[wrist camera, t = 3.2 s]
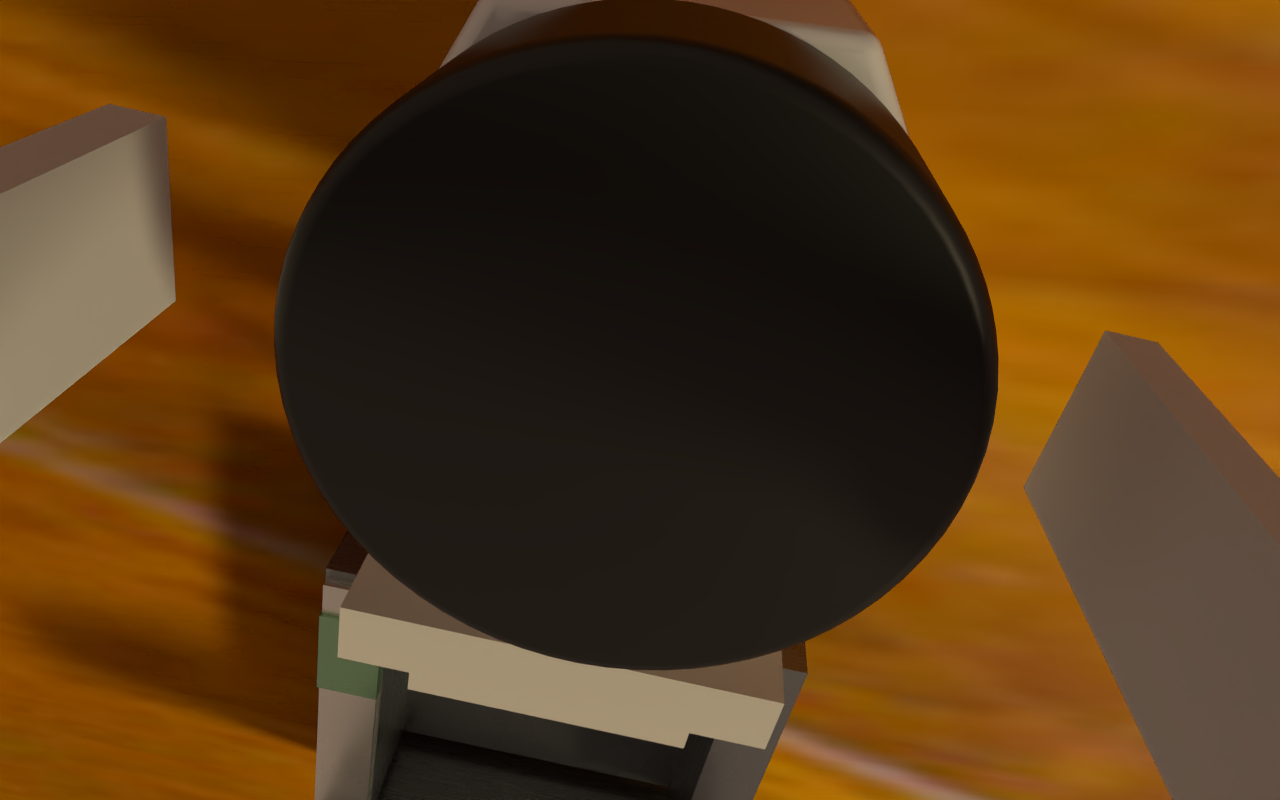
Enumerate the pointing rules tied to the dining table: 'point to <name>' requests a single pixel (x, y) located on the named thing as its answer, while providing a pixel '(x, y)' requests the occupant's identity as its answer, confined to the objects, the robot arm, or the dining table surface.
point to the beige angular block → (553, 674)
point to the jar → (641, 331)
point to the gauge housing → (499, 738)
